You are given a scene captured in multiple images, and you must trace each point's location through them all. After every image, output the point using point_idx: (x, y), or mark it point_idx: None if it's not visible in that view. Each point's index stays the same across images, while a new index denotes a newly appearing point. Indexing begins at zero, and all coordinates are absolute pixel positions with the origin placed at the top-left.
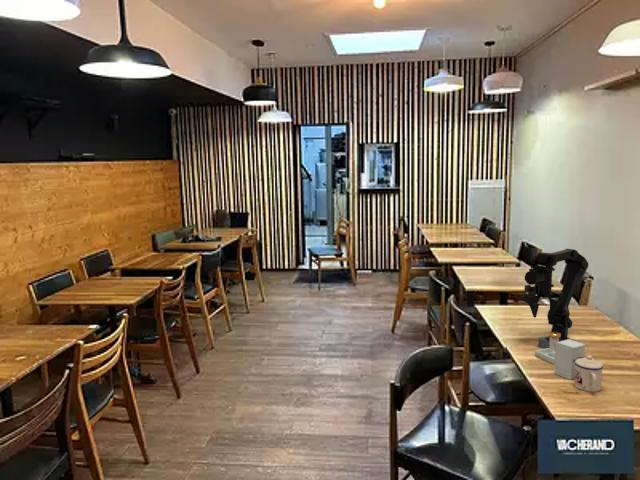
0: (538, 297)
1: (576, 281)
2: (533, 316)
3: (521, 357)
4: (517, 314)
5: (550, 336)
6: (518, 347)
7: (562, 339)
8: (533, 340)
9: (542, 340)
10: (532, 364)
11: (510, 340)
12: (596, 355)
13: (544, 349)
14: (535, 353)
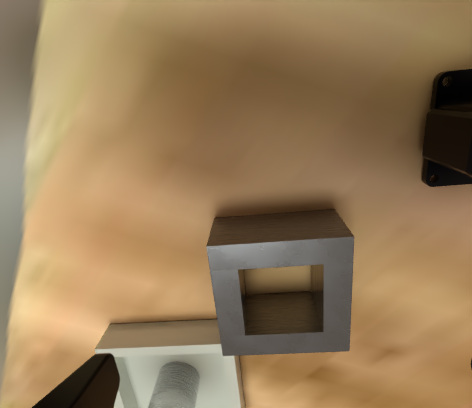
0: None
1: None
2: (91, 362)
3: (36, 317)
4: None
5: None
6: (86, 194)
7: (349, 320)
8: (267, 102)
9: (212, 280)
10: (50, 387)
11: (95, 45)
12: (411, 394)
13: (156, 354)
14: (103, 341)
